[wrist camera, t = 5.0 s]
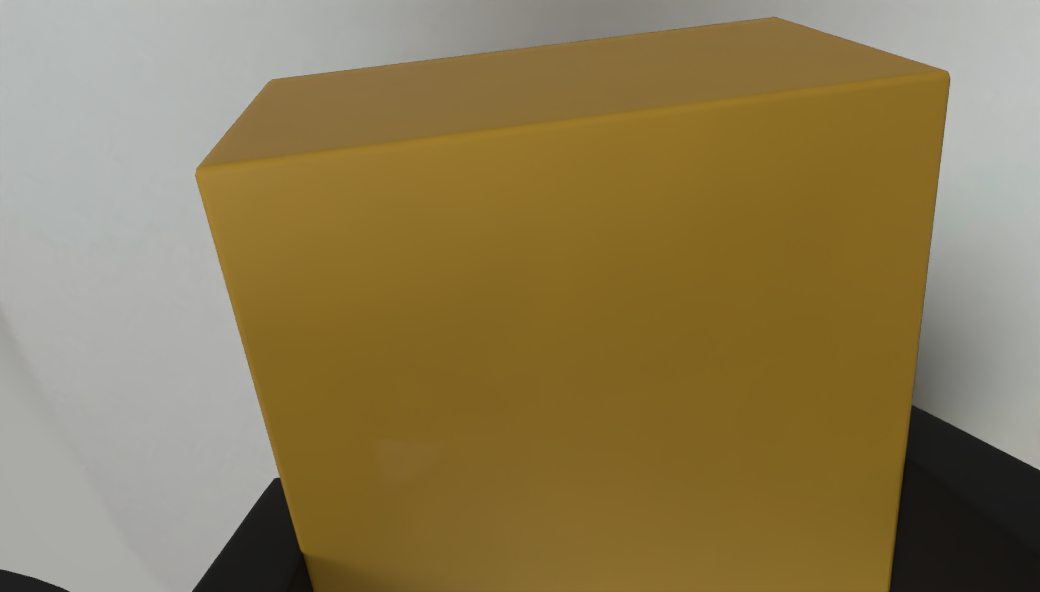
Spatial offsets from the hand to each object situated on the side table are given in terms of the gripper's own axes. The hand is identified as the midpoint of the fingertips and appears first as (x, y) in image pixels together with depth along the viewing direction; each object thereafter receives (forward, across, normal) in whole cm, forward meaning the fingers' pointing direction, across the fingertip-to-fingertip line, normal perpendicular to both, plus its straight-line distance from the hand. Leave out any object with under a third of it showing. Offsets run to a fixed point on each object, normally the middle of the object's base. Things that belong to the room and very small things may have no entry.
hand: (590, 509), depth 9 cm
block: (+1, 0, 0) cm, 1 cm away
